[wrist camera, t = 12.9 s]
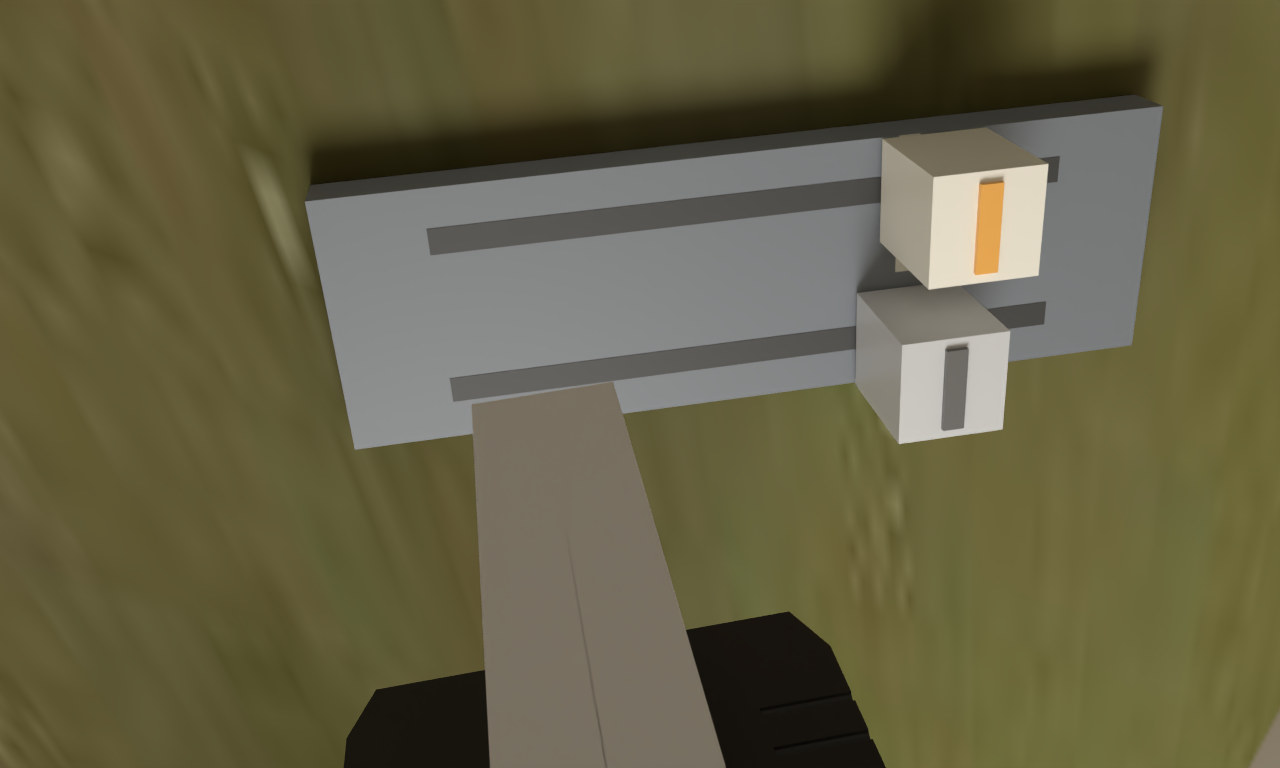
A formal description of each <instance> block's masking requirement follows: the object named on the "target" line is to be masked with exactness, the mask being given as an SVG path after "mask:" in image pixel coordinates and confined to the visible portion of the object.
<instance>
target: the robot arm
mask: <svg viewBox="0 0 1280 768" xmlns="http://www.w3.org/2000/svg"><path fill="white" fill-rule="evenodd" d="M471 405H472V424H473V444H474V463H475V483H476V502H477V522H478V541H479V561H480V580H481V600H482V619H483V638H484V658H485V670H483V671H477V672H472V673H466V674H461V675H455V676H449V677H444V678H438V679H433V680H427V681H422V682H416V683H411V684H405V685H399V686H394V687H388V688H383V689H377V690H376V691H375V692H374V694H373V696H372V697H371V699H370V701H369V702H368V704H367V706H366V707H365V709H364V711H363V712H362V714H361V716H360V717H359V719H358V721H357V722H356V724H355V726H354V727H353V729H352V730H351V732H350V734H349V735H348V737H347V740H346V751H345V761H344V768H886V767H885V765H884V763H883V761H882V758H881V756H880V754H879V752H878V750H877V747H876V745H875V743H874V741H873V739H870V736H869V731H868V728H867V725H866V723H865V721H864V719H863V717H862V715H861V712H860V710H859V708H858V706H857V704H856V701H853V699H852V695H851V690H850V688H849V686H848V684H847V682H846V679H845V677H844V675H843V673H842V671H841V668H840V666H839V664H838V662H837V660H836V657H835V655H834V653H833V651H832V649H831V647H830V645H828V644H827V643H826V642H825V641H824V640H822V639H821V638H820V637H819V636H818V635H817V634H815V633H814V632H813V631H812V630H811V629H809V628H808V627H807V626H806V625H805V624H803V623H802V622H801V621H800V620H799V619H797V618H796V617H795V616H794V615H793V614H791V613H790V612H784V613H778V614H773V615H767V616H761V617H756V618H750V619H745V620H739V621H734V622H728V623H722V624H717V625H711V626H706V627H700V628H695V629H689V630H686V629H685V626H684V622H683V619H682V616H681V612H680V609H679V605H678V602H677V599H676V595H675V592H674V588H673V585H672V581H671V578H670V575H669V571H668V568H667V564H666V561H665V558H664V554H663V551H662V547H661V544H660V540H659V537H658V534H657V530H656V527H655V523H654V520H653V517H652V513H651V510H650V506H649V503H648V499H647V496H646V493H645V489H644V486H643V482H642V479H641V476H640V472H639V469H638V465H637V462H636V458H635V455H634V452H633V448H632V445H631V441H630V438H629V435H628V431H627V428H626V424H625V421H624V417H623V414H622V411H621V407H620V404H619V400H618V397H617V394H616V390H615V387H614V383H613V382H608V383H602V384H595V385H589V386H583V387H577V388H570V389H564V390H558V391H552V392H545V393H539V394H533V395H527V396H520V397H514V398H508V399H502V400H495V401H489V402H483V403H477V404H471Z"/></svg>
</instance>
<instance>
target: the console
mask: <svg viewBox="0 0 1280 768" xmlns="http://www.w3.org/2000/svg"><path fill="white" fill-rule="evenodd" d="M1162 111H1163V106H1162V105H1159V104H1157V103H1154V102H1152V101H1150V100H1147V99H1145V98H1142V97H1140V96H1138V95H1127V96H1118V97H1109V98H1100V99H1091V100H1081V101H1072V102H1063V103H1054V104H1045V105H1036V106H1027V107H1018V108H1009V109H999V110H990V111H981V112H972V113H963V114H954V115H945V116H936V117H927V118H917V119H908V120H899V121H890V122H881V123H872V124H863V125H854V126H845V127H835V128H826V129H817V130H808V131H799V132H790V133H781V134H772V135H763V136H753V137H744V138H735V139H726V140H717V141H708V142H699V143H690V144H680V145H671V146H662V147H653V148H644V149H635V150H626V151H617V152H608V153H598V154H589V155H580V156H571V157H562V158H553V159H544V160H535V161H526V162H516V163H507V164H498V165H489V166H480V167H471V168H462V169H453V170H444V171H434V172H425V173H416V174H407V175H398V176H389V177H380V178H371V179H362V180H352V181H343V182H334V183H325V184H316V185H310V187H309V190H308V193H307V197H306V200H305V204H306V209H307V214H308V219H309V224H310V229H311V234H312V239H313V244H314V249H315V254H316V259H317V264H318V269H319V274H320V279H321V284H322V289H323V294H324V298H325V303H326V308H327V313H328V318H329V323H330V328H331V333H332V338H333V343H334V348H335V353H336V358H337V363H338V368H339V373H340V378H341V383H342V388H343V392H344V397H345V402H346V407H347V412H348V417H349V422H350V427H351V432H352V437H353V442H354V447H355V449H363V448H370V447H378V446H385V445H393V444H400V443H407V442H415V441H422V440H430V439H437V438H445V437H452V436H459V435H467V434H473V424H472V405H471V404H477V403H483V402H489V401H495V400H502V399H508V398H514V397H520V396H527V395H533V394H539V393H545V392H552V391H558V390H564V389H570V388H577V387H583V386H589V385H595V384H602V383H608V382H613V383H614V387H615V390H616V394H617V397H618V400H619V404H620V407H621V411H622V414H623V413H630V412H638V411H645V410H653V409H660V408H668V407H675V406H683V405H690V404H697V403H705V402H712V401H720V400H727V399H735V398H742V397H749V396H757V395H764V394H772V393H779V392H787V391H794V390H801V389H809V388H816V387H824V386H831V385H839V384H846V383H854V382H855V379H856V318H857V293H861V292H869V291H877V290H885V289H893V288H901V287H909V286H917V285H923V284H922V283H921V282H920V281H919V280H918V279H917V278H916V277H915V276H914V275H913V274H912V273H911V272H910V271H909V270H908V269H907V268H906V267H905V266H904V265H903V264H902V263H901V262H900V261H899V260H898V259H897V258H896V257H895V256H894V255H893V254H892V253H891V252H890V251H889V250H888V249H887V248H886V247H885V246H884V245H883V244H881V243H880V215H881V175H882V139H886V138H895V137H904V136H913V135H922V134H931V133H940V132H949V131H958V130H967V129H976V128H985V127H986V128H988V129H990V130H992V131H993V132H995V133H997V134H998V135H1000V136H1002V137H1003V138H1005V139H1007V140H1009V141H1010V142H1012V143H1014V144H1015V145H1017V146H1019V147H1020V148H1022V149H1024V150H1026V151H1027V152H1029V153H1031V154H1032V155H1034V156H1036V157H1038V158H1039V159H1041V160H1043V161H1044V162H1046V163H1048V175H1047V186H1046V197H1045V208H1044V219H1043V231H1042V242H1041V253H1040V264H1039V275H1038V276H1032V277H1024V278H1016V279H1008V280H1000V281H992V282H984V283H977V284H969V285H961V286H962V287H963V288H964V289H965V290H966V291H967V292H968V293H969V294H970V295H971V296H973V297H974V298H975V299H976V300H977V301H978V302H979V303H980V304H981V305H982V306H983V307H985V308H986V309H987V310H988V311H989V312H990V313H991V314H992V315H993V316H994V317H996V318H997V319H998V320H999V321H1000V322H1001V323H1002V324H1003V325H1004V326H1005V327H1006V328H1008V329H1009V330H1010V342H1009V354H1008V362H1010V361H1017V360H1025V359H1032V358H1039V357H1047V356H1054V355H1062V354H1069V353H1077V352H1084V351H1091V350H1099V349H1106V348H1114V347H1121V346H1129V345H1132V339H1133V332H1134V324H1135V317H1136V309H1137V301H1138V294H1139V286H1140V279H1141V271H1142V263H1143V256H1144V248H1145V241H1146V233H1147V225H1148V218H1149V210H1150V202H1151V195H1152V187H1153V180H1154V172H1155V164H1156V157H1157V149H1158V142H1159V134H1160V126H1161V119H1162Z"/></svg>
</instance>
